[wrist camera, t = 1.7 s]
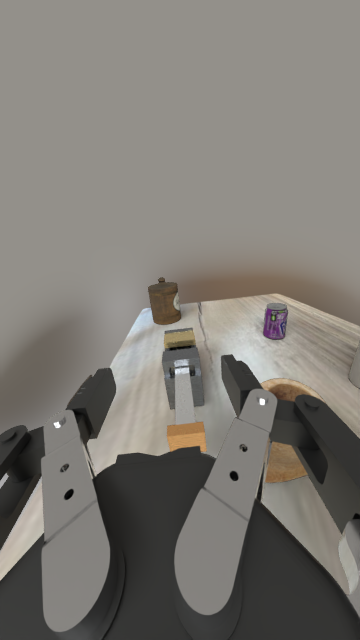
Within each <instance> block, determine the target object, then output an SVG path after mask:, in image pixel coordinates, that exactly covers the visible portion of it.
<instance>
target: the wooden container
mask: <svg viewBox="0 0 360 640" xmlns="http://www.w3.org/2000/svg"><path fill="white" fill-rule="evenodd" d="M158 281H159V283H158V284H155V285H151V286H149V287H148V292H149V297H150V303H151V309H152V315H153V320H154V322H155V323H156V324H162V325H164V324H171V323H174V322H177V321H178V320H180V319H181V313H180V304H179V298H178V289H177V284H176V283H172V282H171V283H169V282H167V283H166V282H165V279H164V278H163V277H162V278H159V279H158Z"/></svg>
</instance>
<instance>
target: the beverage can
mask: <svg viewBox="0 0 360 640" xmlns="http://www.w3.org/2000/svg"><path fill="white" fill-rule="evenodd" d="M287 315H288V310H287V305H285V304H281V303H271V304H268V305H267V308H266V309H265V318H264V331H263V334H264V336H266V337H268V338H270V339H281V338H284V337H285V331H286V323H287Z"/></svg>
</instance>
